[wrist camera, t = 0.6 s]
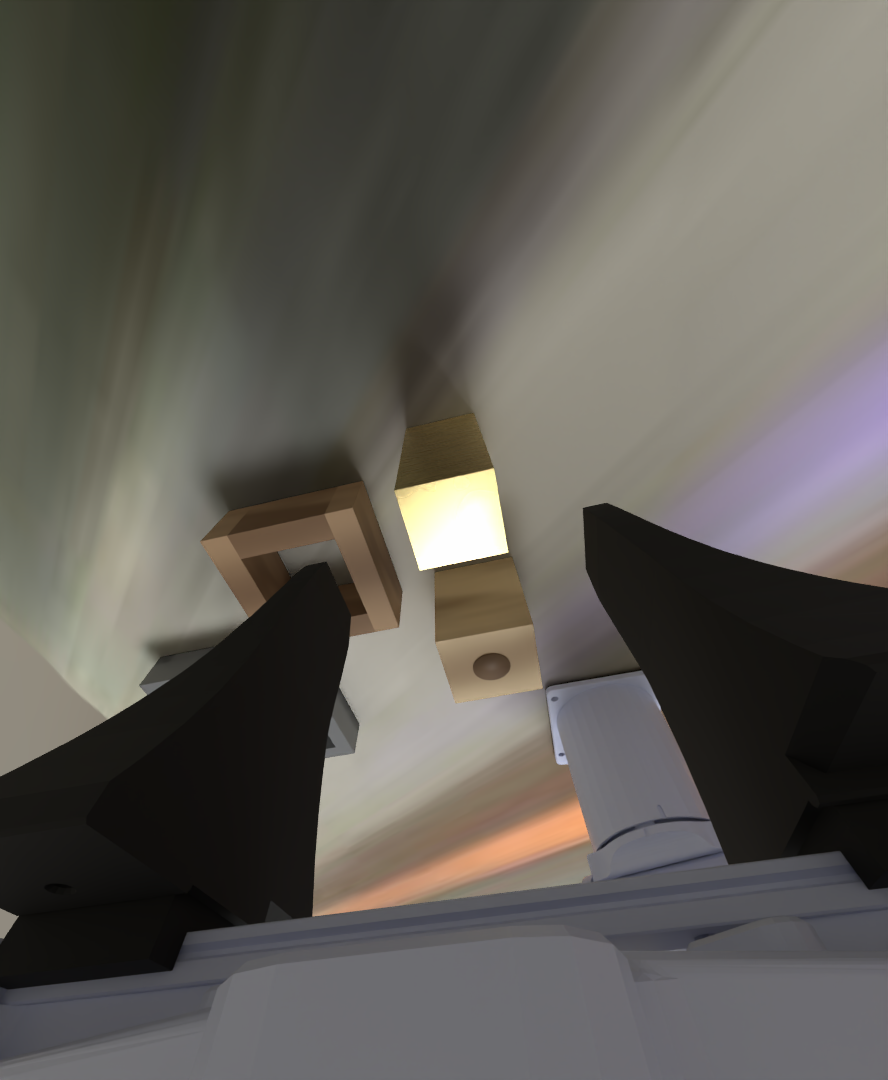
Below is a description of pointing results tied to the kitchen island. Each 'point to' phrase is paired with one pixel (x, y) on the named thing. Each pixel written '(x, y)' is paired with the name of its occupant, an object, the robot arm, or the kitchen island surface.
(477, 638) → the block
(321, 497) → the brown rectangular frame
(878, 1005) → the robot arm
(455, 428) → the gold rectangular block
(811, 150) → the kitchen island surface
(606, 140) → the kitchen island surface
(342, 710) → the tray
